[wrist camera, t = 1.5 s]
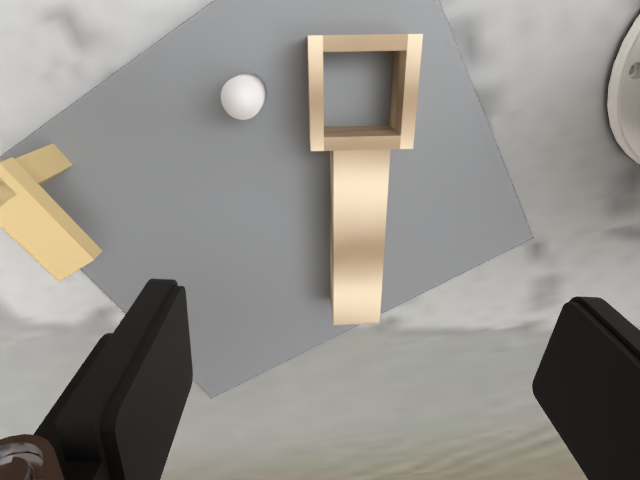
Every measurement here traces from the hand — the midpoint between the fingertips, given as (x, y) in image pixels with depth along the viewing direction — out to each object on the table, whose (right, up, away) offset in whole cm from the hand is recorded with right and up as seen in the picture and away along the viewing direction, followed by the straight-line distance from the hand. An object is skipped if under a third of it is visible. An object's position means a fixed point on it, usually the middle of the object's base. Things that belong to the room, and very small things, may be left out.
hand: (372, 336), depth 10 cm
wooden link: (+1, +6, +15) cm, 16 cm away
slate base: (-4, +5, +16) cm, 18 cm away
